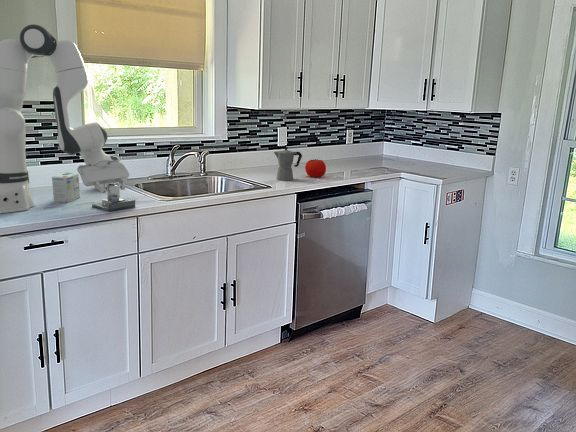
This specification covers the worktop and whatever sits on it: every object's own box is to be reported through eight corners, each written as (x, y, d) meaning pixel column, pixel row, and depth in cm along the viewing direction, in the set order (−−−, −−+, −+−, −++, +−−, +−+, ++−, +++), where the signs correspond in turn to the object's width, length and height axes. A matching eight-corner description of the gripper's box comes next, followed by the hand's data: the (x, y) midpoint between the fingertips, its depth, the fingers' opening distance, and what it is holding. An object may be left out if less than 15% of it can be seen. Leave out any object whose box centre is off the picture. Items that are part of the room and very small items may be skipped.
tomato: (324, 175, 309) (325, 157, 307) (326, 179, 298) (327, 160, 296) (304, 174, 309) (304, 157, 306) (305, 178, 298) (306, 160, 295)
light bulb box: (65, 196, 232) (64, 172, 230) (80, 197, 232) (79, 173, 229) (52, 201, 222) (51, 176, 219) (68, 202, 221) (66, 177, 219)
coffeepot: (272, 180, 288) (273, 147, 284) (273, 177, 297) (274, 145, 293) (300, 181, 287) (302, 148, 283) (301, 178, 296) (302, 146, 292)
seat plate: (110, 211, 210) (110, 204, 209) (92, 206, 217) (91, 199, 216) (135, 206, 219) (135, 199, 219) (117, 202, 226) (116, 195, 225)
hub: (112, 207, 213) (111, 186, 211) (102, 204, 217) (101, 184, 215) (125, 204, 218) (124, 184, 216) (115, 201, 222) (114, 182, 220)
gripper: (78, 161, 209) (94, 189, 206) (122, 156, 225) (137, 182, 222) (72, 171, 213) (88, 198, 210) (115, 165, 229) (131, 191, 226)
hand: (114, 190), depth 216 cm, fingers open, 8 cm apart
